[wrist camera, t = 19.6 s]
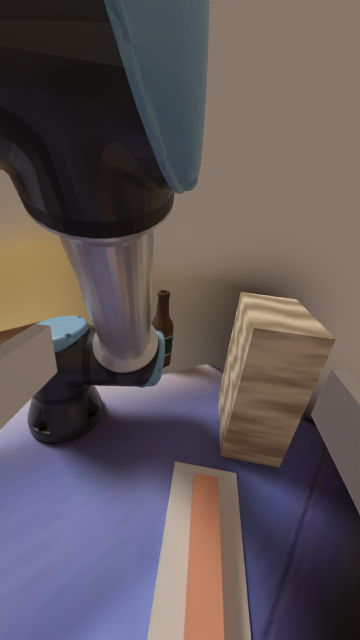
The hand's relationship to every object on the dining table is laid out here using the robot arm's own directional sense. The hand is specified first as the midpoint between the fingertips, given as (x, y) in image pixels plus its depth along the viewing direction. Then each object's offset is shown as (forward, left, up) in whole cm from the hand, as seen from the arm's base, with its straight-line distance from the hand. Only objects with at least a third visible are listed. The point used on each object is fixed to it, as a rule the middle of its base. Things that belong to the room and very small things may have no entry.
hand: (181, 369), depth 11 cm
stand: (-18, +31, -38) cm, 52 cm away
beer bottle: (-49, +22, -38) cm, 66 cm away
